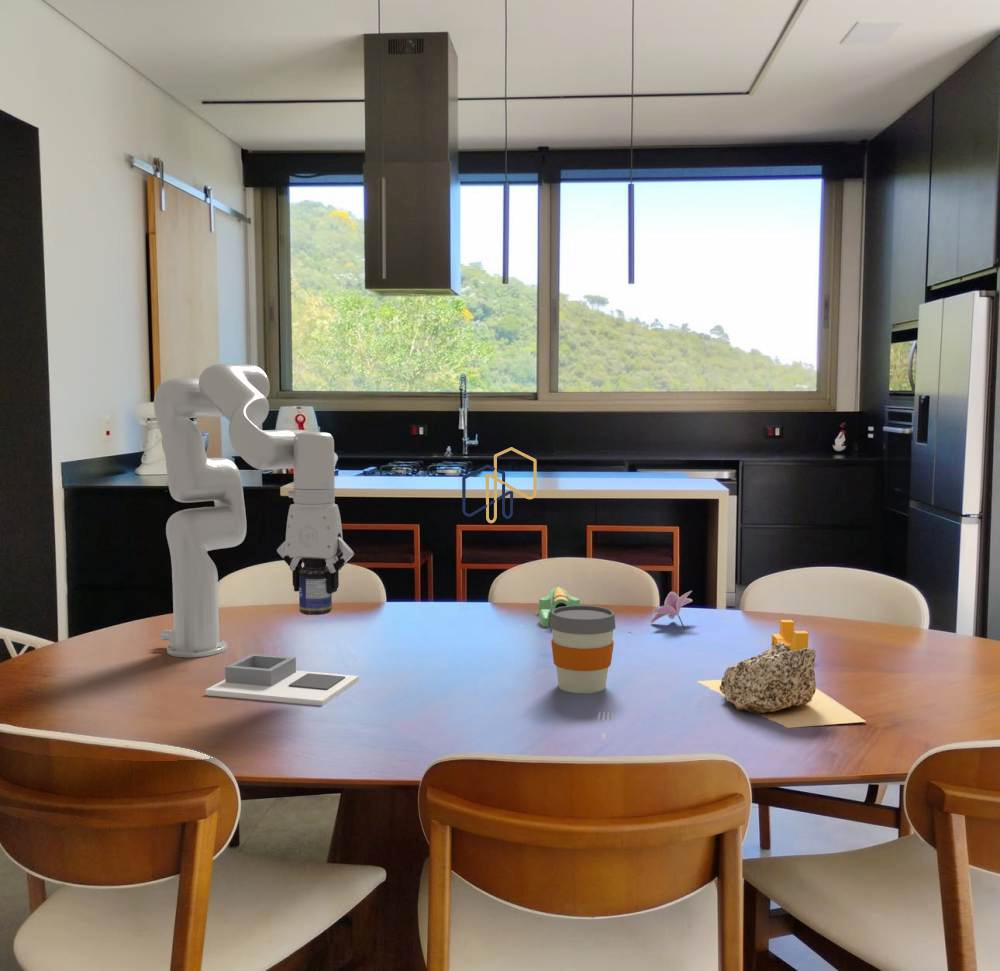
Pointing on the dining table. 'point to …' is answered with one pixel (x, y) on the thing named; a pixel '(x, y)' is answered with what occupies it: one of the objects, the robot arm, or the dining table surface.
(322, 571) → the pill bottle
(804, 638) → the orange stepped block
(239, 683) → the socket board
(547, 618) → the toy spaceship
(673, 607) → the lily
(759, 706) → the rock
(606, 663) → the reusable coffee cup
